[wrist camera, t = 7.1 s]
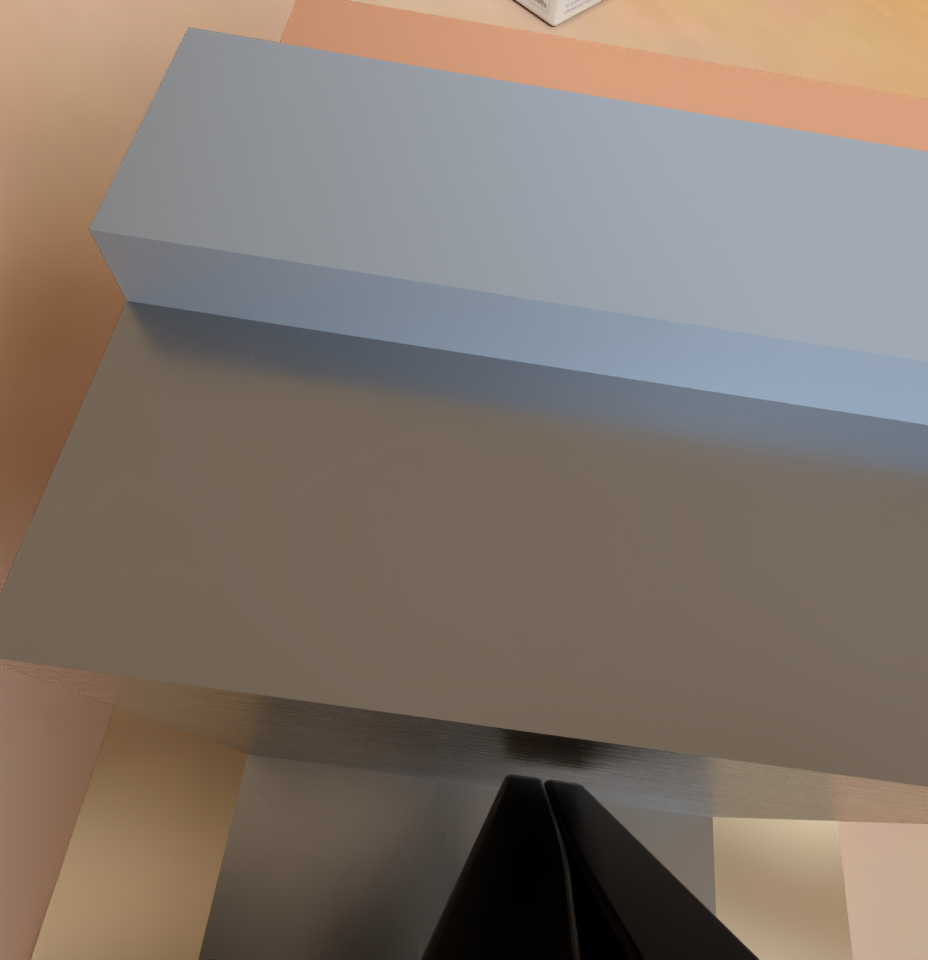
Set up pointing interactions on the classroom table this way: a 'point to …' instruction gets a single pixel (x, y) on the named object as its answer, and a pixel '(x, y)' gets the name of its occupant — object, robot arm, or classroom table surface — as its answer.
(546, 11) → the light bulb box
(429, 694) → the bookend
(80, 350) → the classroom table surface
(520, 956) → the robot arm
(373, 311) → the blue book
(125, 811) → the shelf
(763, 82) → the orange flat block
